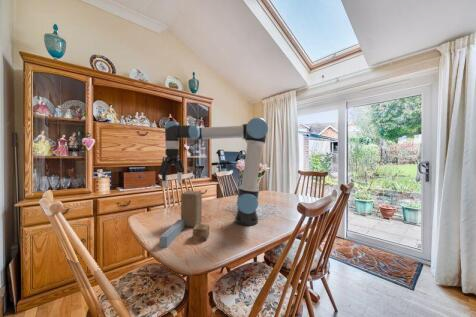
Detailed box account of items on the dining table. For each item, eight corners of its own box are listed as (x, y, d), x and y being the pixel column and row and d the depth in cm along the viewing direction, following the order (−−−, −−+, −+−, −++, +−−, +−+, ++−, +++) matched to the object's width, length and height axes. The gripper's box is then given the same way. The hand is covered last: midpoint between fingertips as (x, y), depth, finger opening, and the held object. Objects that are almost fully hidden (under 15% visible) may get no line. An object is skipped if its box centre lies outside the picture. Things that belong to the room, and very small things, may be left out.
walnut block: (209, 235, 109) (209, 224, 108) (206, 241, 102) (206, 229, 101) (196, 235, 109) (196, 224, 109) (192, 240, 102) (192, 229, 102)
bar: (184, 228, 118) (184, 219, 118) (167, 247, 94) (167, 236, 94) (178, 228, 119) (178, 219, 118) (159, 247, 95) (159, 236, 94)
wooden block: (195, 227, 119) (195, 194, 119) (180, 226, 121) (180, 193, 121) (202, 222, 129) (202, 191, 128) (187, 220, 131) (187, 190, 130)
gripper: (179, 148, 130) (180, 181, 130) (151, 148, 106) (151, 188, 107) (189, 148, 127) (190, 182, 128) (162, 148, 104) (163, 188, 104)
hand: (172, 184), depth 117 cm, fingers open, 13 cm apart
